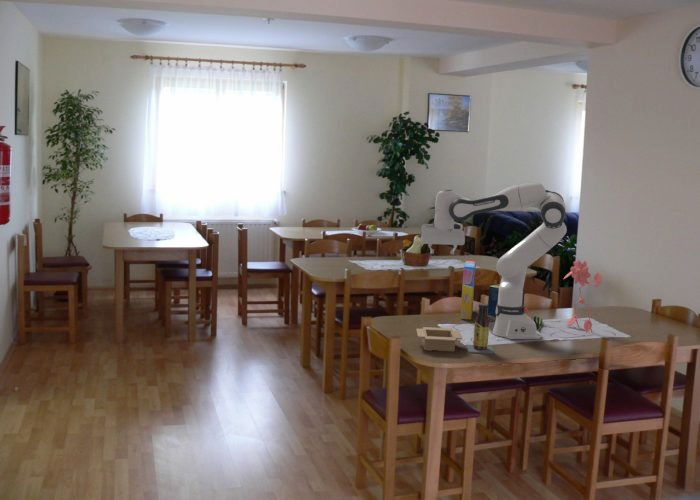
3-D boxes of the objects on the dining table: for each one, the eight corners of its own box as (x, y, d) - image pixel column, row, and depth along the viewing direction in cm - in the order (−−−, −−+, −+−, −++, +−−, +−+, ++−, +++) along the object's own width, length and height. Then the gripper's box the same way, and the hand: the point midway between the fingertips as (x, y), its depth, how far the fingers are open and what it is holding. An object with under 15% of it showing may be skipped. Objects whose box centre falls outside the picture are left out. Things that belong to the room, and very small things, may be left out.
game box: (471, 320, 377) (474, 267, 373) (460, 319, 378) (463, 266, 374) (472, 311, 397) (476, 260, 393) (462, 310, 398) (465, 260, 394)
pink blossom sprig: (568, 322, 379) (573, 254, 373) (605, 335, 356) (611, 263, 350) (544, 325, 372) (548, 256, 367) (581, 339, 350) (586, 266, 344)
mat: (490, 346, 329) (490, 345, 329) (494, 354, 319) (494, 352, 318) (465, 345, 330) (465, 344, 330) (468, 352, 319) (468, 351, 319)
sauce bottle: (471, 346, 327) (474, 301, 324) (485, 346, 328) (488, 302, 325) (475, 350, 321) (477, 305, 318) (489, 350, 321) (492, 305, 318)
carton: (457, 341, 336) (458, 328, 335) (462, 353, 317) (463, 340, 316) (415, 339, 336) (416, 326, 335) (417, 351, 318) (418, 338, 317)
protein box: (498, 312, 397) (500, 283, 395) (523, 318, 386) (525, 288, 383) (486, 314, 390) (488, 285, 387) (511, 320, 379) (513, 291, 376)
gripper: (421, 224, 343) (420, 254, 345) (466, 226, 342) (464, 255, 344) (420, 222, 349) (419, 251, 351) (464, 224, 348) (462, 253, 350)
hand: (442, 253), depth 348 cm, fingers open, 8 cm apart
